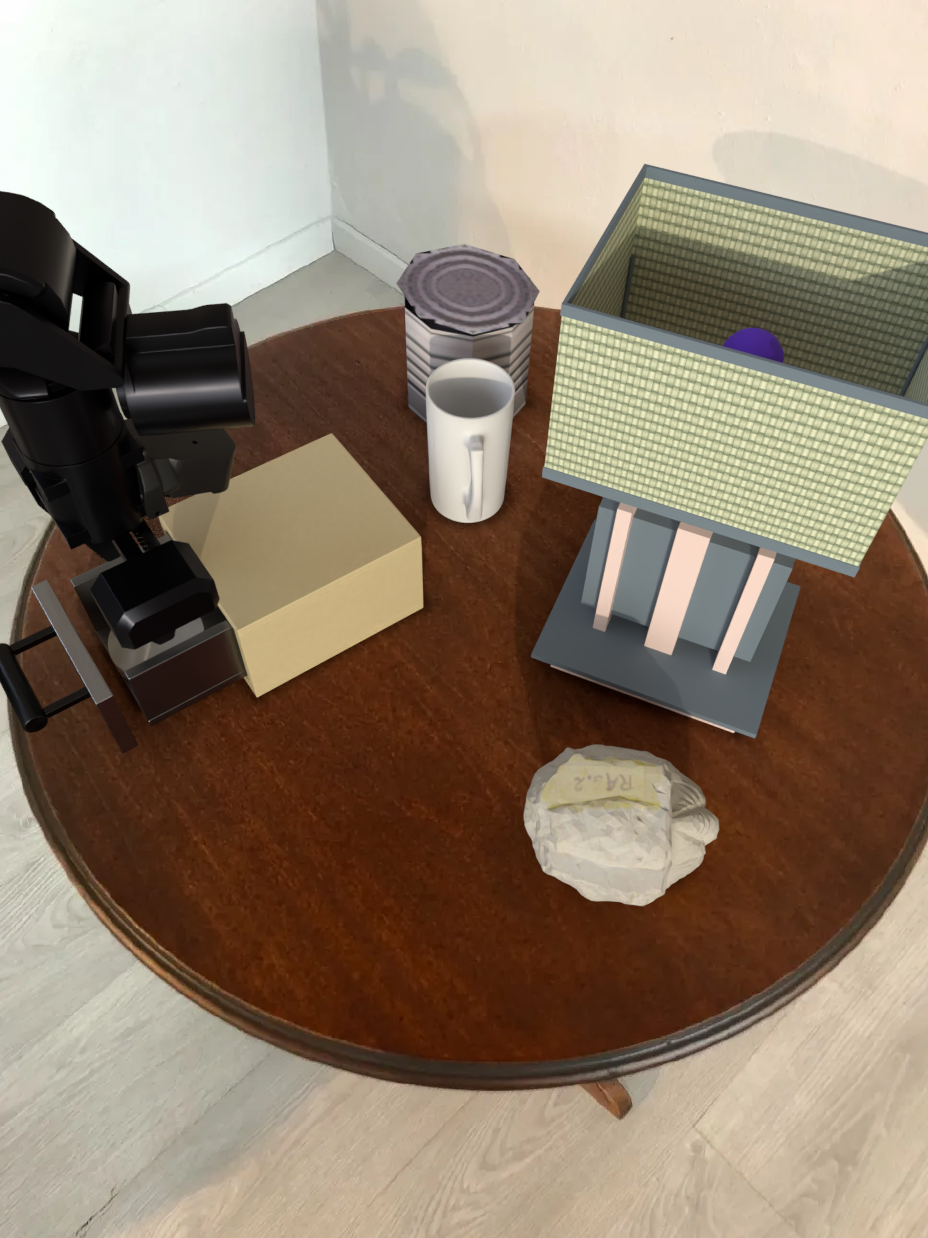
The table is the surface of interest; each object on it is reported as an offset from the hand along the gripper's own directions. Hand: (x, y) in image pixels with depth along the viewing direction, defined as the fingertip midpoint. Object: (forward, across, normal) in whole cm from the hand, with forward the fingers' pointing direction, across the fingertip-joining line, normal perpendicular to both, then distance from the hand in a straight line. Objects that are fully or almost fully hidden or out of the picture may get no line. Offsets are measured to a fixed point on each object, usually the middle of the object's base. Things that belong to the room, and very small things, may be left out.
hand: (139, 597), depth 69 cm
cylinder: (+6, 0, 0) cm, 6 cm away
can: (+9, +12, -36) cm, 38 cm away
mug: (+9, 0, -28) cm, 29 cm away
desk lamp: (+9, -19, -32) cm, 39 cm away
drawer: (+8, 0, +1) cm, 8 cm away
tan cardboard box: (+8, 0, -12) cm, 14 cm away
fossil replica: (+9, -30, -18) cm, 36 cm away
